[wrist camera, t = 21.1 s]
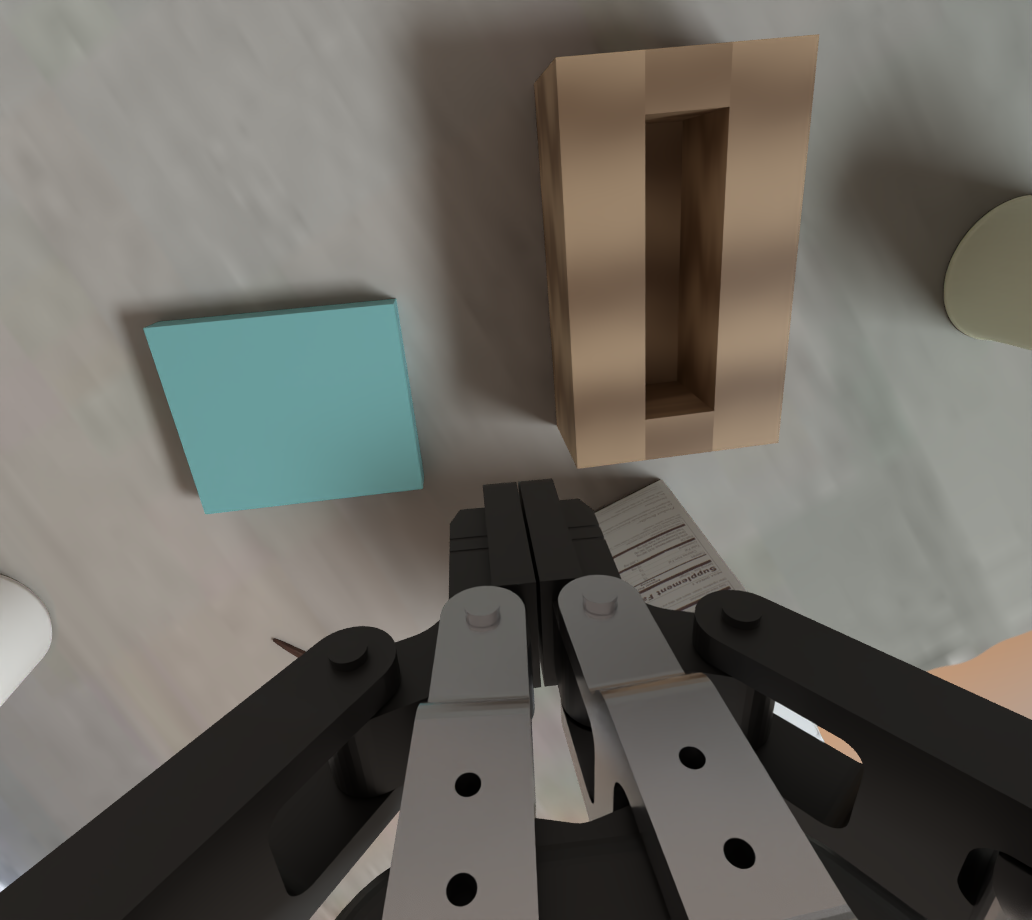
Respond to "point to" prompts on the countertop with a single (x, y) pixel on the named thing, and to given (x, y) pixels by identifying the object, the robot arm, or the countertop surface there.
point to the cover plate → (291, 404)
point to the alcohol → (20, 634)
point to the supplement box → (670, 559)
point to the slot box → (672, 242)
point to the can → (994, 277)
